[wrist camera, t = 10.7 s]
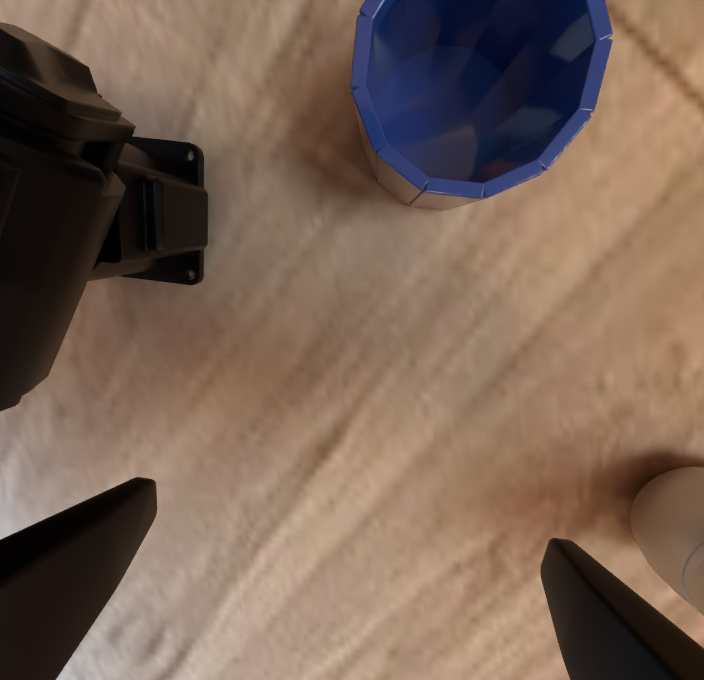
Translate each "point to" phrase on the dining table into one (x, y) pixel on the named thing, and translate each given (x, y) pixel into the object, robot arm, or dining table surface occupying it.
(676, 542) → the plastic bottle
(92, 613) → the robot arm
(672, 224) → the dining table surface
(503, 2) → the mug
